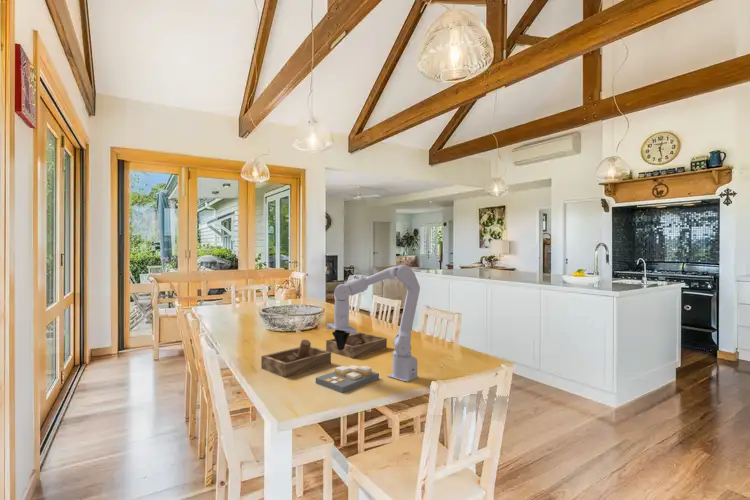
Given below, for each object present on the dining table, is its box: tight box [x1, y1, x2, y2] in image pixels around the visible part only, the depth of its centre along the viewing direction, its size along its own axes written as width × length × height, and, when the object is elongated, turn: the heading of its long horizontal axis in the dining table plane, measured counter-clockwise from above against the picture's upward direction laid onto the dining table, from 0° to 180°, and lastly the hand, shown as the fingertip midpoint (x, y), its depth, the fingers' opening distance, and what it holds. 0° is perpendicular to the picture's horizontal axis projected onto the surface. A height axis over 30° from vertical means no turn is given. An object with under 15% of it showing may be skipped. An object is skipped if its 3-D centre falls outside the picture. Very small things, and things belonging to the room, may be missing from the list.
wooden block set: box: [285, 339, 312, 363], centre depth 166 cm, size 18×9×10 cm, turn 142°
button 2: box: [346, 372, 361, 380], centre depth 149 cm, size 4×4×2 cm
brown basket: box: [347, 336, 380, 346], centre depth 193 cm, size 18×12×7 cm, turn 122°
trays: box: [260, 332, 388, 378], centre depth 181 cm, size 18×60×5 cm, turn 140°
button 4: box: [334, 365, 350, 377], centre depth 153 cm, size 4×4×2 cm
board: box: [315, 371, 380, 394], centre depth 151 cm, size 14×20×2 cm
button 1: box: [357, 365, 373, 376], centre depth 154 cm, size 4×4×2 cm
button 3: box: [347, 364, 360, 372], centre depth 158 cm, size 4×4×2 cm
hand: (340, 349), depth 157 cm, fingers closed
